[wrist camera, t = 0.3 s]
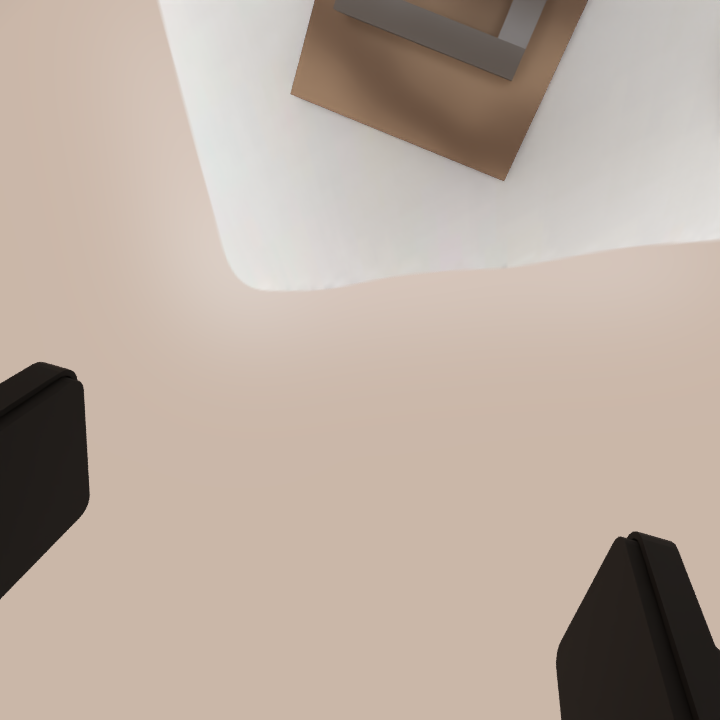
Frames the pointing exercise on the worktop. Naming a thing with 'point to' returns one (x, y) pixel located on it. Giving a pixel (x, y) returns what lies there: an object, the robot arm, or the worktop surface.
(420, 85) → the caddy
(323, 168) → the worktop surface
